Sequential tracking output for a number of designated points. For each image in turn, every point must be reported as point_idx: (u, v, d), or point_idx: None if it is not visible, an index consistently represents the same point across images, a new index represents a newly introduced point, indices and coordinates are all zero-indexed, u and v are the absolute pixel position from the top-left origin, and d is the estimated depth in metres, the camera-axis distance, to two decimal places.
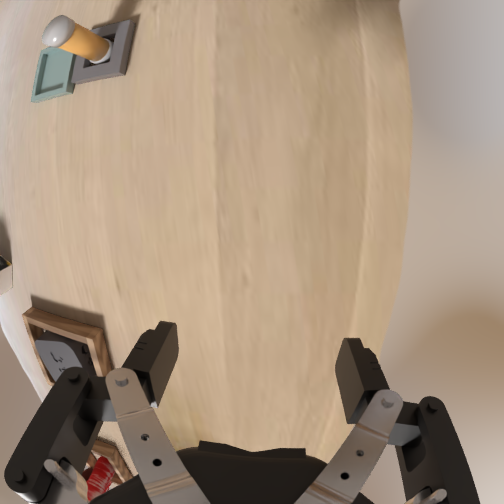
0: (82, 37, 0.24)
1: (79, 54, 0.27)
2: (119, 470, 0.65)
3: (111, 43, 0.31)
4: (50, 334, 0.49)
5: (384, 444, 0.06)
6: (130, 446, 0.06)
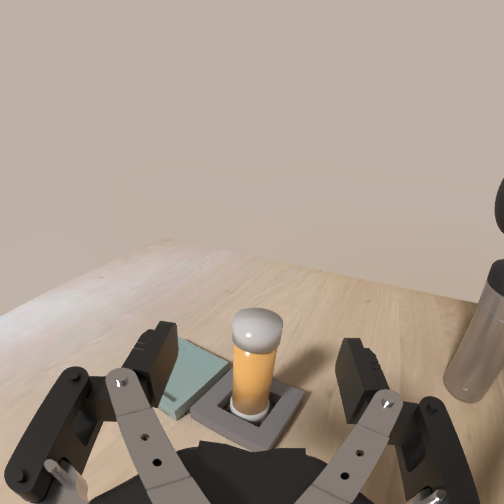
0: (269, 368, 0.26)
1: (241, 386, 0.27)
2: None
3: (268, 405, 0.30)
4: None
5: (384, 444, 0.06)
6: (130, 446, 0.06)
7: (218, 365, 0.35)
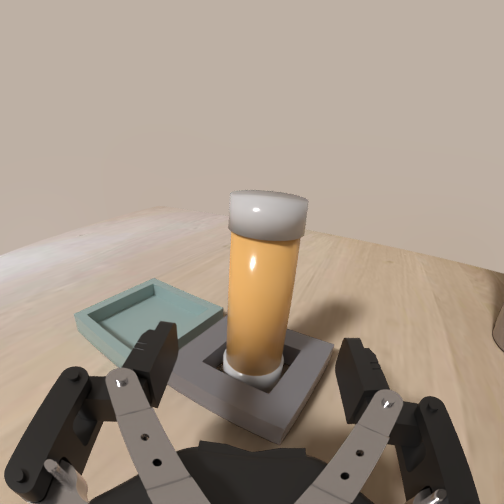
0: (287, 280, 0.17)
1: (240, 317, 0.17)
2: None
3: None
4: None
5: (384, 444, 0.06)
6: (130, 446, 0.06)
7: (208, 311, 0.26)
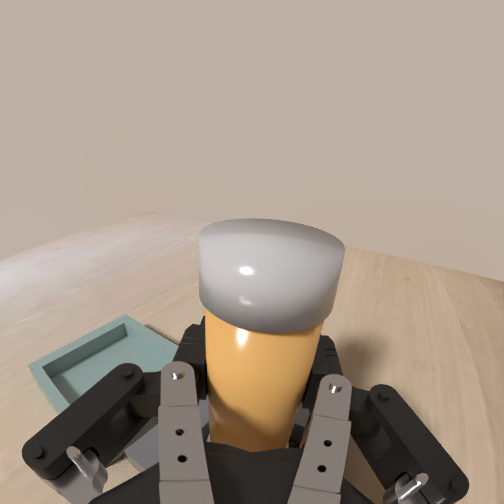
0: (301, 378, 0.09)
1: (226, 422, 0.10)
2: None
3: None
4: None
5: (348, 429, 0.07)
6: (162, 437, 0.06)
7: None
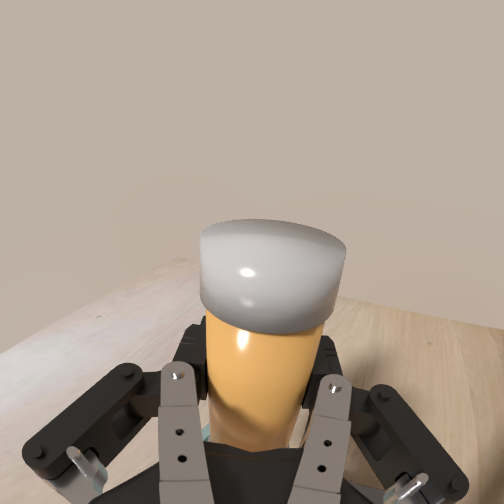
0: (302, 379, 0.09)
1: (226, 423, 0.10)
2: None
3: None
4: None
5: (348, 429, 0.07)
6: (162, 437, 0.06)
7: None
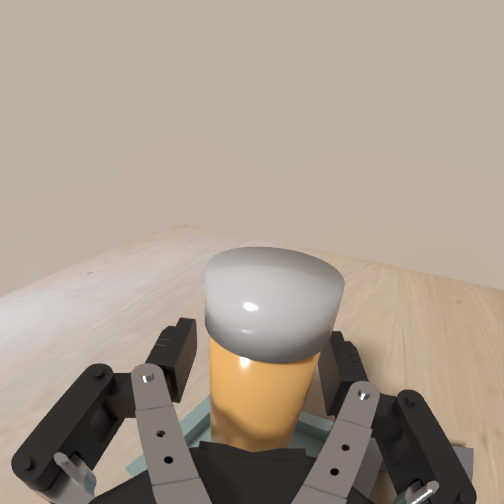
0: (300, 399, 0.10)
1: (228, 436, 0.10)
2: None
3: None
4: None
5: (368, 436, 0.06)
6: (144, 441, 0.06)
7: None
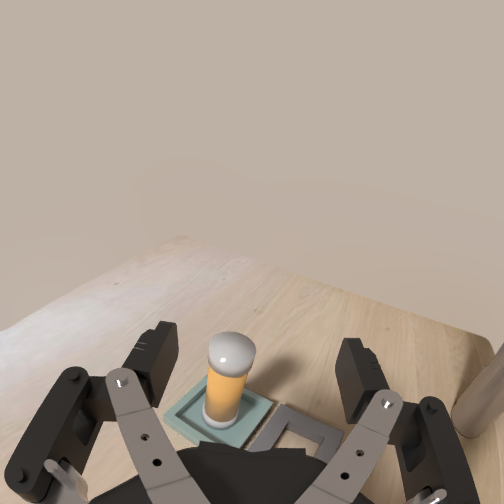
0: (239, 387, 0.27)
1: (213, 399, 0.28)
2: None
3: (237, 413, 0.32)
4: None
5: (384, 444, 0.06)
6: (130, 446, 0.06)
7: (263, 406, 0.34)
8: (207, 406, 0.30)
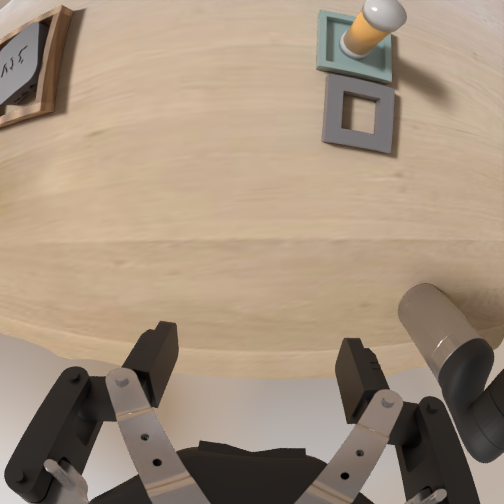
0: (369, 35, 0.23)
1: (351, 26, 0.25)
2: None
3: (363, 56, 0.30)
4: (46, 39, 0.29)
5: (384, 444, 0.06)
6: (130, 446, 0.06)
7: (383, 75, 0.31)
8: None
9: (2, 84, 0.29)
